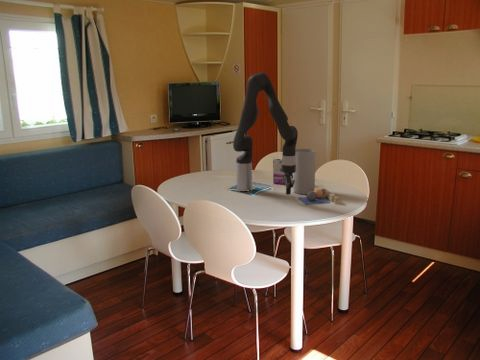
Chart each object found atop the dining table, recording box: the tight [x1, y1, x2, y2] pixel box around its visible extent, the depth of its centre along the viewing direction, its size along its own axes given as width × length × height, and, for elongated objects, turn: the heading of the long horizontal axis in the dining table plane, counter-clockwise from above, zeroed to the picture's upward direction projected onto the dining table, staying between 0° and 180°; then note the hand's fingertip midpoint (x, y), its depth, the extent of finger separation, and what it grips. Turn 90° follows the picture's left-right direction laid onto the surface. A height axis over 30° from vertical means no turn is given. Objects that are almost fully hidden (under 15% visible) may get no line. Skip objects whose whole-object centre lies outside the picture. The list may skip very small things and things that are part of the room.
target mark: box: [297, 196, 331, 206], centre depth 255 cm, size 14×14×1 cm
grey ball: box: [305, 191, 316, 201], centre depth 253 cm, size 6×6×6 cm
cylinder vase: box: [292, 148, 316, 195], centre depth 269 cm, size 12×12×25 cm
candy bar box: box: [272, 157, 285, 185], centre depth 290 cm, size 11×5×16 cm, turn 76°
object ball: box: [313, 188, 324, 199], centre depth 257 cm, size 6×6×6 cm
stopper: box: [320, 188, 340, 205], centre depth 256 cm, size 20×2×4 cm, turn 13°
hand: (288, 194), depth 251 cm, fingers closed
